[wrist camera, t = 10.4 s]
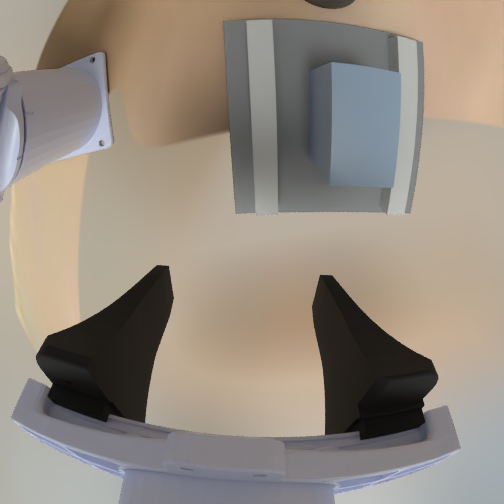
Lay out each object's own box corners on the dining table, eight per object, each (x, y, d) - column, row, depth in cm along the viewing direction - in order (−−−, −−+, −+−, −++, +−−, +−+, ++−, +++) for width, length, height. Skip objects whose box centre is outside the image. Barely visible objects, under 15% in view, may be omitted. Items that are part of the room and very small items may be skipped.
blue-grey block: (309, 157, 18) (329, 185, 13) (308, 71, 14) (331, 62, 9) (357, 159, 18) (393, 188, 12) (359, 76, 14) (400, 73, 9)
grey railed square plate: (236, 208, 21) (233, 222, 19) (225, 24, 14) (220, 15, 11) (405, 208, 20) (418, 221, 18) (416, 43, 13) (433, 40, 11)
